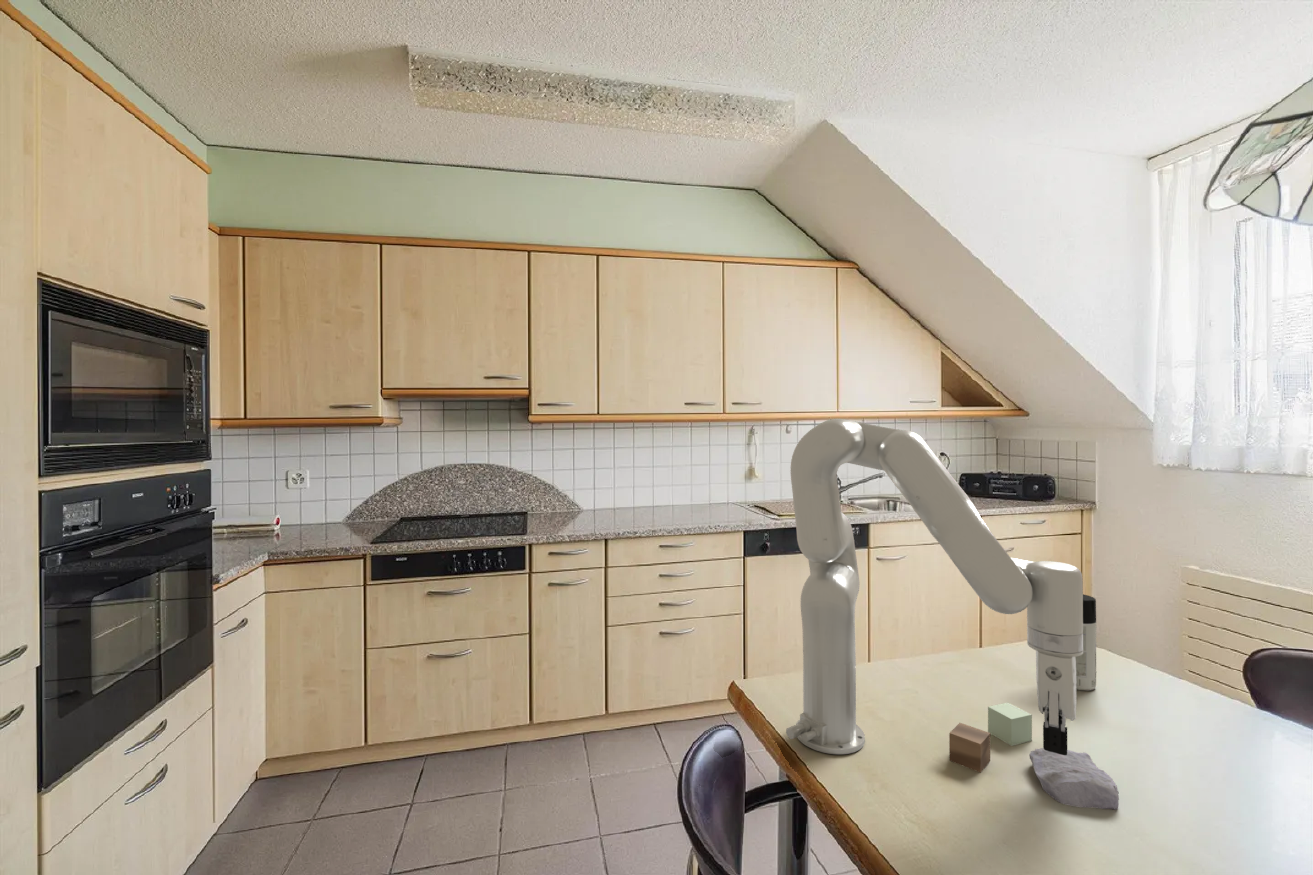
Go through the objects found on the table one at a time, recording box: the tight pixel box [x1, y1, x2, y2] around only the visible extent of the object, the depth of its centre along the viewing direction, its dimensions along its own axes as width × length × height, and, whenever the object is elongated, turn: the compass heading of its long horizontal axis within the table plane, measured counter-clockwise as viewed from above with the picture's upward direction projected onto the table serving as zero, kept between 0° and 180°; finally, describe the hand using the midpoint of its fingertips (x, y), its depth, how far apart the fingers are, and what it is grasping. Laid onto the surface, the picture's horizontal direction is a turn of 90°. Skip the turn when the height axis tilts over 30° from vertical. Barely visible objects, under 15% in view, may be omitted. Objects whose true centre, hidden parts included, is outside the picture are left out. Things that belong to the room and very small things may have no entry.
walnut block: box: [948, 722, 991, 773], centre depth 101 cm, size 5×5×5 cm
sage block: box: [987, 702, 1033, 747], centre depth 109 cm, size 5×5×5 cm
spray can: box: [1075, 593, 1097, 692], centre depth 130 cm, size 7×7×20 cm
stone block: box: [1029, 747, 1120, 811], centre depth 94 cm, size 12×5×10 cm
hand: (1055, 750), depth 95 cm, fingers closed
